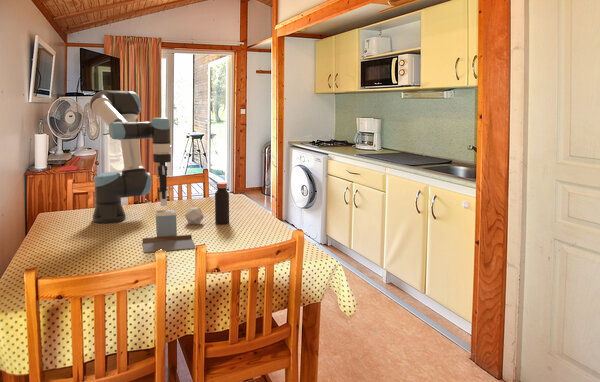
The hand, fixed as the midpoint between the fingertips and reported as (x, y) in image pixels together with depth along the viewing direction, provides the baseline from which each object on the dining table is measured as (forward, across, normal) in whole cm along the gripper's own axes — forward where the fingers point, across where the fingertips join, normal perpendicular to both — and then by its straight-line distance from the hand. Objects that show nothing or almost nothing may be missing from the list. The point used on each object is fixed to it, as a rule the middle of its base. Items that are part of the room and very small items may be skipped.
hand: (163, 205), depth 210 cm
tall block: (+12, -12, 0) cm, 17 cm away
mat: (+12, -23, 0) cm, 26 cm away
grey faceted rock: (+12, +12, -15) cm, 22 cm away
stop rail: (+12, -15, 0) cm, 20 cm away
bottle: (+12, +8, -28) cm, 32 cm away
